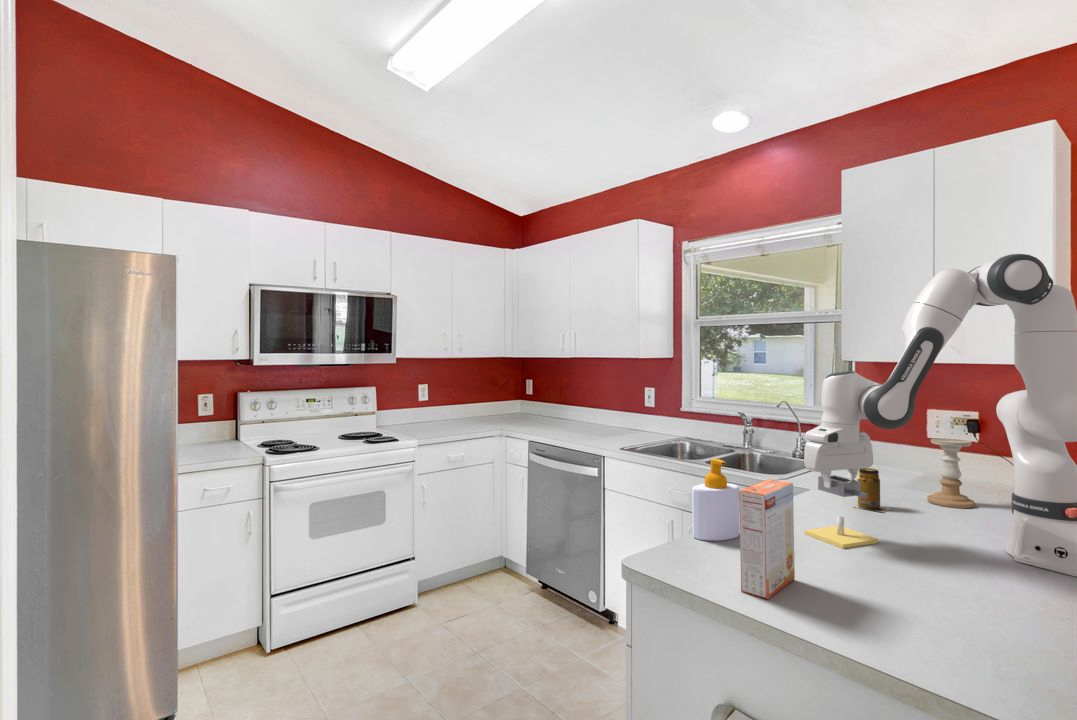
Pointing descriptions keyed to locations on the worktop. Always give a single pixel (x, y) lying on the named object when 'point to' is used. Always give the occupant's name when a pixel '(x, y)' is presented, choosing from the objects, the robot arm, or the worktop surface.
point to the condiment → (870, 490)
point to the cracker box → (766, 537)
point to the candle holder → (950, 476)
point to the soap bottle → (715, 507)
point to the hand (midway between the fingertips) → (839, 486)
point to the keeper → (841, 535)
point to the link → (842, 487)
